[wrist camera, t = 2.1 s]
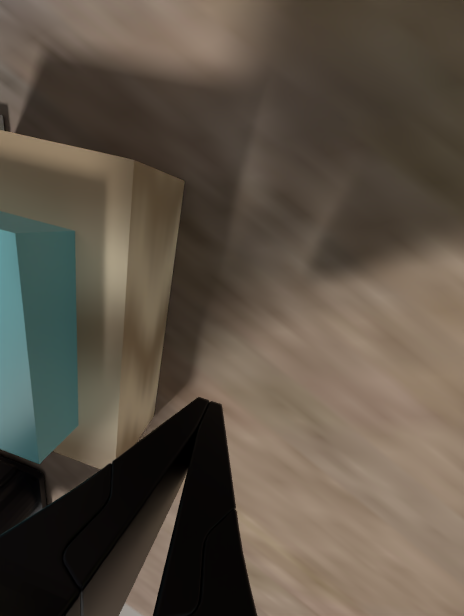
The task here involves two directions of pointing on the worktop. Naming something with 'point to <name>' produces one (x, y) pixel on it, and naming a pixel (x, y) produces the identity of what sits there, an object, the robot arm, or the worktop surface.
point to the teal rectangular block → (37, 336)
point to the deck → (104, 276)
